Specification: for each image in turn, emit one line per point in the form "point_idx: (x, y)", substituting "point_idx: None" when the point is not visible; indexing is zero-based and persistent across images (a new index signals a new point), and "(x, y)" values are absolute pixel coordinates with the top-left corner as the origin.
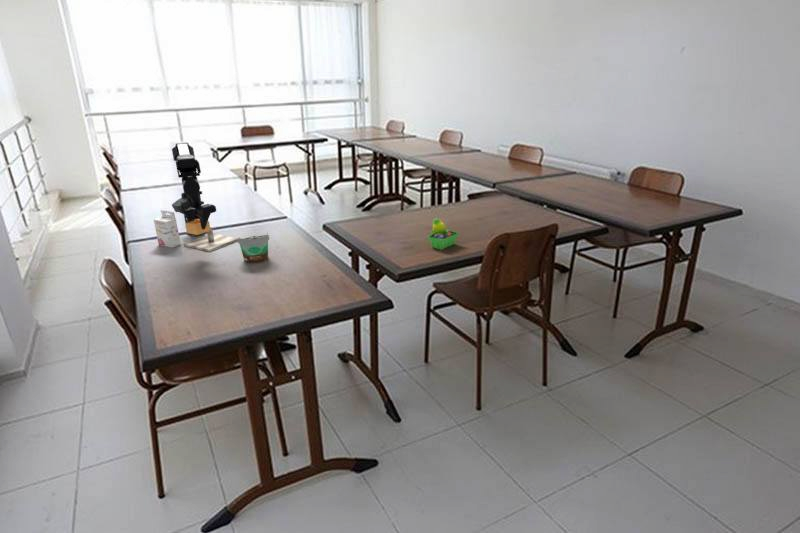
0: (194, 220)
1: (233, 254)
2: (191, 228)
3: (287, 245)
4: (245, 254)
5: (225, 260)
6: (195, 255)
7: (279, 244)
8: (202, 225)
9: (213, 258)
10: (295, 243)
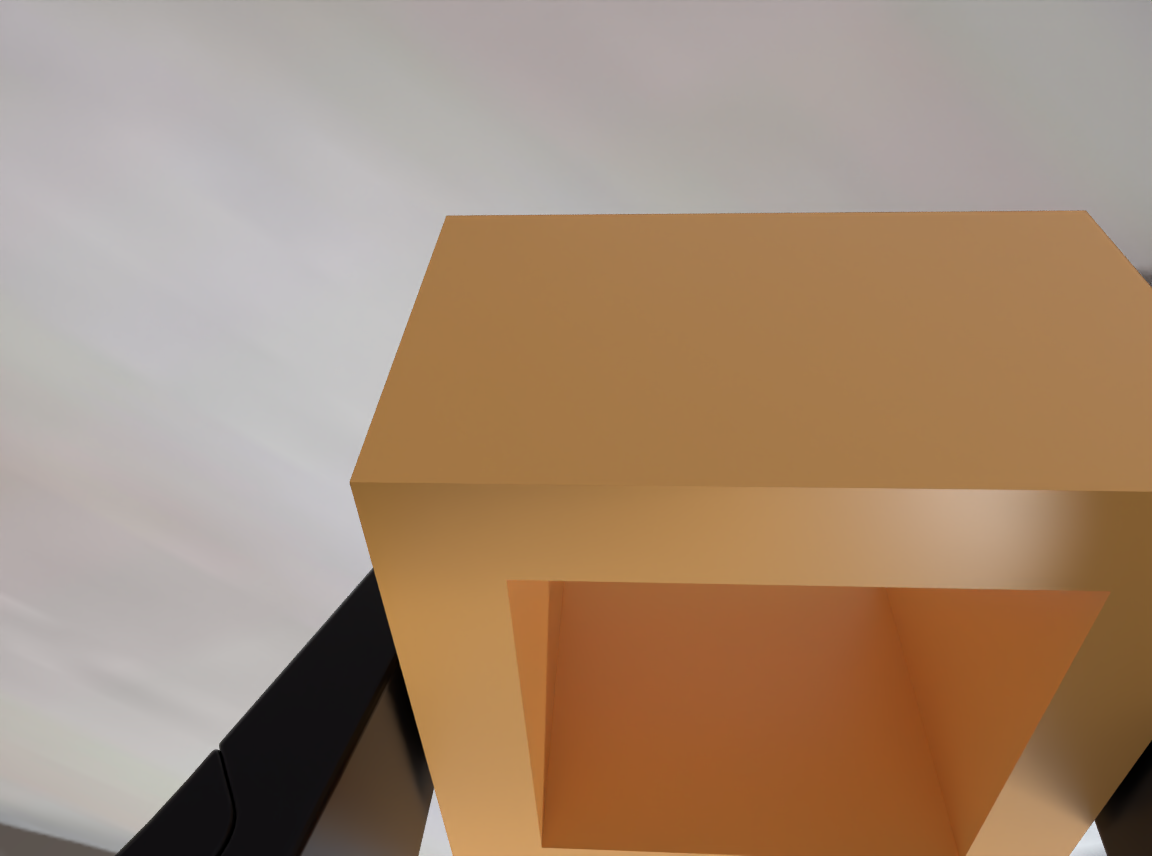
0: (1066, 815)
1: (291, 382)
2: (754, 340)
3: (115, 742)
4: None
5: (116, 157)
6: (832, 56)
7: (203, 737)
8: (328, 625)
9: (377, 120)
10: (117, 785)
